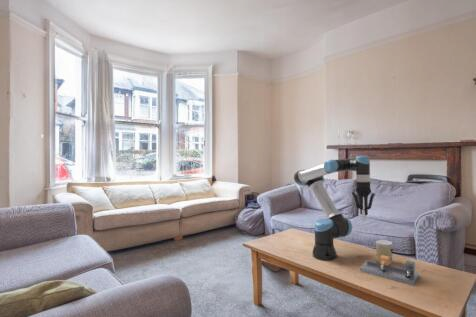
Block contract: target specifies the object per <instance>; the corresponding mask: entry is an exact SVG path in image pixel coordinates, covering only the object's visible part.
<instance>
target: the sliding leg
mask: <svg viewBox="0 0 476 317" xmlns="http://www.w3.org/2000/svg"><path fill="white" fill-rule="evenodd" d="M380 264H381V270H383V266H384V265H386V266H388V265H391V264H390V257H388V256H384V255H381V257H380Z"/></svg>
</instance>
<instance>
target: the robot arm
mask: <svg viewBox="0 0 476 317" xmlns="http://www.w3.org/2000/svg"><path fill="white" fill-rule="evenodd" d="M370 160H371V159H370V157H369V155H356V156H355V158H341V159H329V160H326V161H324V163H321V164H319V165H315V166H313V167H310V168H307V169H301V170H297V171H296V172H295V173H294V175H293V180H294V182H295V183H296V184H297V185H299V186H302V187H303V186H307V188H308V189H309V190H312V192H313V194H314V196H315V198H316V200H317V201H318V204H319V206H320V207H321V210H322V211H323V213H324V214H325V217H326V218H319V219H317V220H315V222H314V227H313V228H314V246H313V249H312V257H314V258H315V259H317V260H321V261H333V260H336V259H337V257H338V256H337V255H338V254H337V250H336V248H335V245H334V239H338V238H343V237H344V238H345V237H347V236H349V235H351V234H352V231H353V230H352V229H353V224H352V221H351V220H350V219H349V218H347V217H345V216H344V215H343V214H342V213H340V212H339V210H338V209H337V207H336V205H335V204H334V202H333V200H332V198H331V197H330V195H329V193H328V192H327V190H326V188H325V187H324V180H325V179H324V176H326V175H330V174H333V173H339V172H355V175H356V176H355V177H356V180H355V181H356V183H355V184H356V189H355V191H353V192H351V194H352V196H353V197H354V202H355V205H356V206H355V207H356V208H357V209H359V214H360V215H361V221H363V222H364V221H366V220H367V215H368V213H369V212H368V211H369V210H371V208H372V205H373V202H374V201H373V200H374V197H375V196H376V193H374V192H372V189H371V182H370V181H371V167H370V166H371V161H370ZM369 196H370V198H369V200H368V197H369Z"/></svg>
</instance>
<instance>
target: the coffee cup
mask: <svg viewBox="0 0 476 317" xmlns="http://www.w3.org/2000/svg"><path fill="white" fill-rule="evenodd" d="M393 246H394V244H393V242H392V241H390V240H386V239H377V240H376V241H375V249H376V260H377V261H376V262H379V263H380V257H381V255H384V256H388V257H390V264H389V265H391V264H392V263H393Z"/></svg>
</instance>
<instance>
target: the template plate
mask: <svg viewBox="0 0 476 317" xmlns="http://www.w3.org/2000/svg"><path fill="white" fill-rule="evenodd" d="M359 272H363V273H366V274H370V275H373V276H378V277H381V278H385V279H389V280H392V281H396V282H399V283H403V284H407V285H411V286H415V285H416V282H417V280H418V277H419V272H418V271H416V262H415V261H410V260H406V261H405V263H404V268H403V267H400V266H396V265H391V264H389V265H388V266H386V265H384V266H383V270H381V264H380V263H379V262H378V261H374V260H370V259H367V260H366V261H365V262H364V263H363V264H361V266H360V267H359Z"/></svg>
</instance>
